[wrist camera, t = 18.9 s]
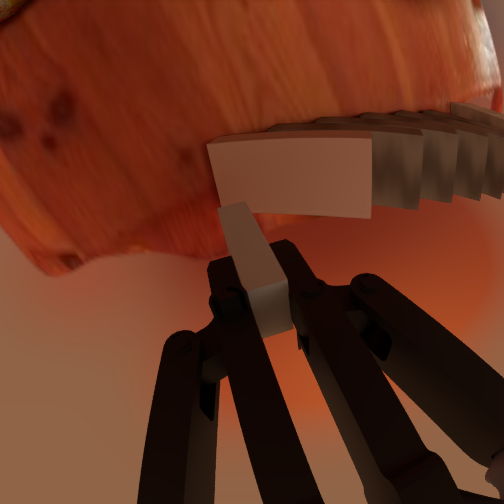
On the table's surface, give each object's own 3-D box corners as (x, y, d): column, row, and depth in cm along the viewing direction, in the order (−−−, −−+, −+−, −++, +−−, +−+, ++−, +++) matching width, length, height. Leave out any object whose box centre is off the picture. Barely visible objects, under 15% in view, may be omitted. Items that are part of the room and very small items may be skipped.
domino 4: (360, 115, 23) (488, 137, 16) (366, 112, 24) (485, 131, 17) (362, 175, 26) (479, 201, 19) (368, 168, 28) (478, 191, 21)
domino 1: (206, 144, 21) (371, 138, 16) (219, 136, 23) (370, 131, 18) (222, 211, 24) (370, 218, 20) (233, 199, 26) (370, 204, 22)
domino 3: (314, 121, 22) (458, 134, 16) (321, 116, 24) (454, 128, 18) (320, 185, 26) (451, 203, 20) (327, 177, 27) (448, 192, 21)
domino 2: (267, 130, 22) (423, 135, 16) (276, 124, 23) (420, 129, 18) (277, 196, 25) (417, 210, 20) (285, 186, 27) (416, 198, 21)
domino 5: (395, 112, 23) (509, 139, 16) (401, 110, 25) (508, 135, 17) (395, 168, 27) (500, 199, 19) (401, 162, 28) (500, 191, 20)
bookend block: (450, 102, 25) (539, 135, 14) (471, 103, 25) (552, 135, 15) (448, 162, 29) (526, 208, 19) (468, 158, 30) (540, 200, 19)
